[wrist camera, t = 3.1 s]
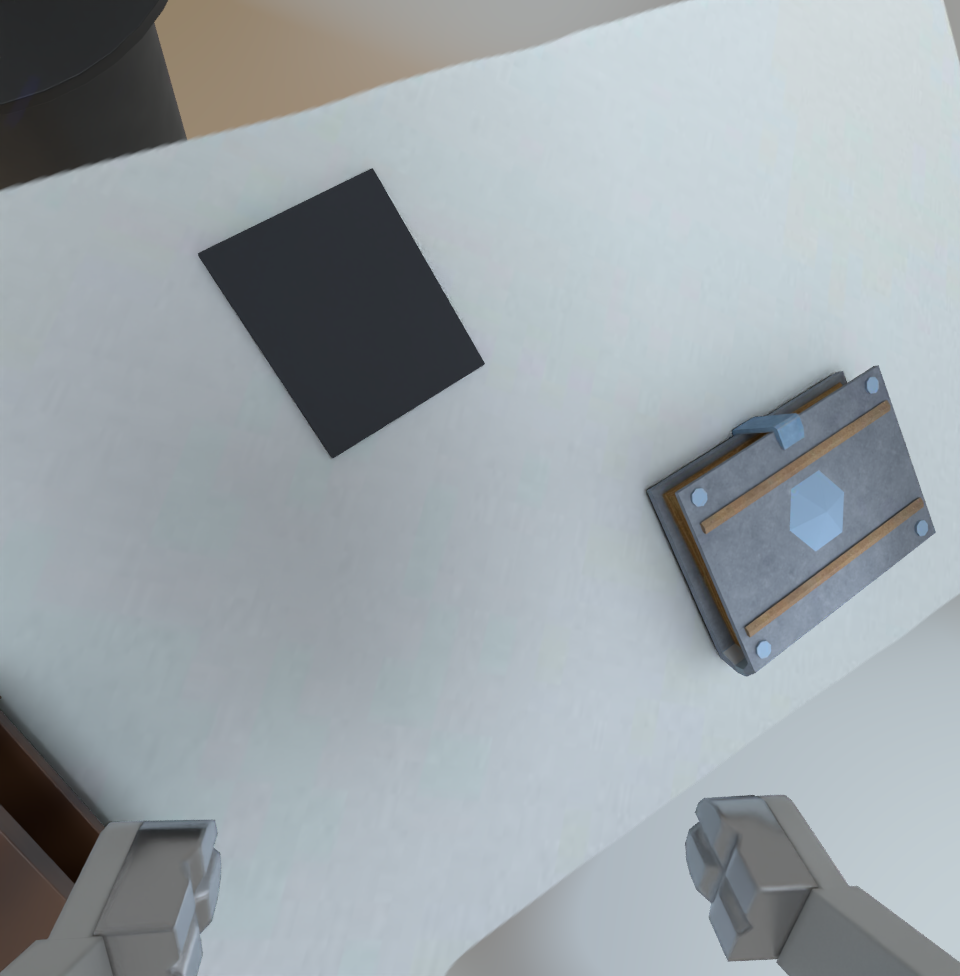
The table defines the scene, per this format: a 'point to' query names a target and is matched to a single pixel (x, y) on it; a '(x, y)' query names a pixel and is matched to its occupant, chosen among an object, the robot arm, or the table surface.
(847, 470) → the book
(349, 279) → the mat
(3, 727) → the shelf
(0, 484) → the table surface
